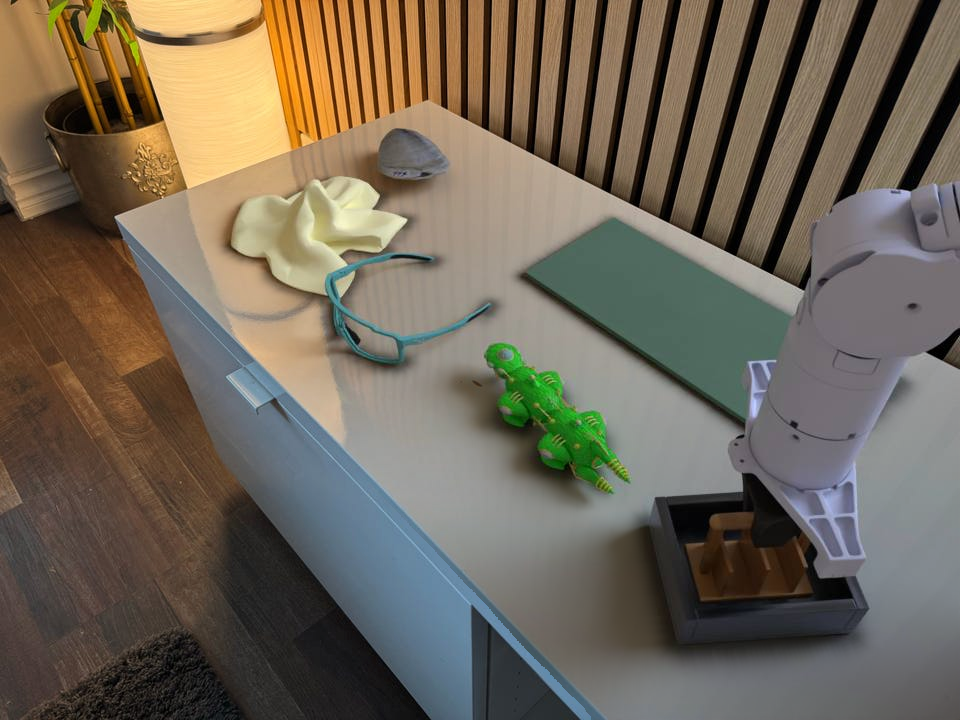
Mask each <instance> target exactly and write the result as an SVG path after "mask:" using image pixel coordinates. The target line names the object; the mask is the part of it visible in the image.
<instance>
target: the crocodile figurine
mask: <svg viewBox="0 0 960 720" xmlns="http://www.w3.org/2000/svg"><path fill="white" fill-rule="evenodd" d="M483 359H485V361H486V366H487V367H488V368H489V369H493V371H494V374H493V375H494V376H496V377H498V378H500V379H502V380H505V382H504V385H505V390H506V391H505V392H503V394H502V395H501V396H500V397H499V398H498V401H497V405H496V406H497V408H498V409H499V410H500V412H501V413H502V419H503V420H504V421H505V422H507V424H509V425H512V426H514V427H515V426H516V427H519V428H524V426H525V424H526V422H527V421H528V420H529V419H531V420H533V422H532V425H533V426H534V427H536V426H537V425H539V426H540V427H541V428H542V430H543V431H545V434H544V435H543V436H542V437H541V439H540V440H538V444H537V450H538V452H539V453H540V459H541V461H542V462H543V463H544V464H545V465H546V466H547V467H549V468H553V469H556V470H562V471H564V470H565V466H566V465H567V464H569V466H570V468H571V471H572V473H573V476H574V477H575V478H576V479H578V480H581V481H583V482H586V483H587V484H592V485H594V487H595V489H597V490H598V489H599V490H600V491H603V492H604V493H606V494H612V495H614V494H615V491H614V490H613V487H612V486H611V484H609V483H608V481H607V480H605V478H604V476H601V477H600V475H598V474H597V472H596V471H595V470H596V469H599V468H601V467H602V466H603V465H604V464H605V465H606V466H605V467H606V468H607V469H609V471H611V472H613V475H615V476H617V478H619V479H620V480H621V481H623V482H625V483H626V482H627V483H628V484H631V483H632V482H631V480H630V478H631V477H630V475H629V472H628V470H627V469H626V466H625V465H623V464H621V462H620V461H619V459H618V457H617V455H616V454H615V452H614V451H613V450H611V449H610V448H609V447H608V446H609V445H608V444H607V441H606V437H607V428H606V427H607V424H608V422H607V419H606V417H605V416H604V415H602V413H600V412H599V411H597V410H589V411H583V412H581V413H579V412H578V411H577V409H578V406H577V405H574V406H570V405H569V404H568V403H567V402H566V401H565V400H564V399H563V394H564V385H565V379H564V378H563V377H562V375H560V374H559V372H557V371H555V370H547V371H542V372H540V373H538V372H537V371H536V365H532V366H531V367H530V366H529V364H528V363H526V359H525V358H524V357H523V356H522V353H521V350H520V349H519V348H518V347H515V346H514V345H511V344H510V343H508V342H496V343H491V344H489V345H488V347H487V348H486V351H485V352H484V353H483ZM524 365H525V366H524ZM571 462H572V463H571Z"/></svg>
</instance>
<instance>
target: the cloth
mask: <svg viewBox="0 0 960 720" xmlns="http://www.w3.org/2000/svg"><path fill="white" fill-rule="evenodd" d="M380 196H381V194H380V193H379V192H377V190H375V189H374V188H373V186H371V185H370V184H369V183H368V182H366V181H364V180H362V179H359V178H355V177H350V176H342V175H341V176H340V175H339V176H334V177H331V178H329V179H325V180H323V181H320V180H319V179H318V178H317V179H314V178H312V179H311V180H309V181H308V182H306V183H305V184H304V188H303V190H301V191H299V192H298V193H296V194H294V195H292V196H290V197H289V198H287V199H286V198H283V197H281V196H280V195H276V194H266V195H257V196H253V197H249V198H247V199H246V200H244V202H242V204H241V205H240V208H239V210H238V212H237V215H236V217H235V220H234V223H233V227H232V230H231V237H230V246H231V248H233V250H236V251H237V252H238V253H239V254H241V255H243V256H246V257H250V258H262V259H263V258H265V259H266V261H267V263H268V265H269V268H270V271H271V274H272V275H273V276H274V277H275V279H277V280H278V281H280V282H281V283H283V284H285V285H287V286H289V287H292V288H294V289H296V290H300V291H303V292H307V293H312V294H317V295H321V296H325V297H328V295H327V293H326V290H325V280H326V277H327V275H328V274H329V273H332V272H334V271H336V270H339V269H341V268H343V267H345V266H348V265H349V264H347V262H346V261H345V260H344V259H343V258H342V257H341V256H340V255H342V254H343V253H345V252H346V251H356V252H357V251H358V252H363V253H364V252H365V253H370V254H379V253H382V251H383V250H384V249H385V248H386V247H387V246H388V245H389V243H390V242H391V241H392V239H393V238H394V236H395V235H396V234H397V233H398V232H399V231H400V230H402V228H403V227H404V226H405V225H406V223H407V222H408V218H407V217H403V216H401V215H398V214H395V213H392V212H388V211H382V210H378V209H373V208H375V206H376V205H377V203H378V201H379V199H380ZM355 275H356V270H354V271H353V272H351V273H350V274H349V275H347V276H345V277H343V278H340V279H339V280H337V281H335V283H336V287H337V290H338V293H339V296H340V299H341V298H342V297H343V296H344V295H345V294H346V292H347V290H348V289H349V287H350V286H351V284H352V282H353V281H354V278H355ZM331 291H332V290H331Z"/></svg>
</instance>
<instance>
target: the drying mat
mask: <svg viewBox="0 0 960 720" xmlns="http://www.w3.org/2000/svg"><path fill="white" fill-rule="evenodd" d="M524 277H526V278H527V279H528V280H530V281H531V282H533V283H535V284H536V285H537V286H539V287H540V288H542V289H544V290H545V291H547V292H548V293H549V294H551V295H552V296H554V297H556V299H558V300H560V301H561V302H563V303H564V304H566V305H567V306H569V307H570V308H572V309H573V310H575V311H576V312H578V313H579V314H580V315H582V316H584V318H586V319H588V320H589V321H591V322H592V323H594V324H596V325H597V326H598V327H600V328H601V329H603V330H605V331H606V332H607V333H609V334H610V335H612V336H613V337H615V338H616V339H617V340H619V341H621V342H622V343H624V344H625V345H626V346H628V347H630V348H631V349H632V350H634V351H636V352H637V353H639V354H640V355H641V356H642V357H644V358H645V359H647V360H649V361H651V362H652V364H653V363H654V365H657V366H658V367H659V368H660V369H662V370H664V371H665V372H667V373H668V374H670V375H671V376H673V377H675V379H677V380H679V381H680V382H682V383H683V384H684V385H686V386H687V387H689V388H690V389H692V390H694V391H695V392H696V393H698V394H699V395H701V396H702V397H704V398H705V399H706V400H708V401H709V402H712V403H713V404H714V405H716V406H717V407H719V408H720V409H722V410H724V411H725V412H726V413H728V414H729V415H730V416H732V417H734V419H737V421H739V422H741V423H742V424H744V425H746V414H747V402H748V392H747V391H745V390H744V388H743V385H742V383H741V379H742V376H743V372H744V369H745V366H746V363H747V362H748V361H764V360H777V358H778V355H779V352H780V349H781V346H782V343H783V341H784V338H785V335H786V332H787V329H788V326H789V324H790V322H791V320H792V318H793V317H794V316H791V315H790V314H788V313H786V312H784V311H782V310H780V309H778V308H777V307H775V306H773V305H772V304H770V303H768V302H766V301H765V300H763V299H761V298H759V297H757V296H756V295H754V294H752V293H750V292H748V291H746V290H745V289H743V288H741V287H739V286H738V285H736V284H734V283H732V282H730V281H729V280H727V279H725V278H724V277H721V276H720V275H719V274H716V273H714V272H713V271H711V270H710V269H707V268H706V267H703V266H702V265H700V264H698V263H696V261H693V260H692V259H689V258H687V257H686V256H685V255H682V254H680V253H679V252H677V251H675V250H673V249H671V248H670V247H668V246H666V245H664V244H663V243H661V242H659V241H658V240H656V239H654V238H652V237H650V236H648V235H647V234H645V233H643V232H641V231H639V230H638V229H636V228H635V227H633V226H630V225H629V224H627V223H626V222H623V221H621V220H620V219H618V218H616V217H614V216H613V217H612V218H610V219H609V220H607V221H606V222H604V223H602V224H601V225H599V226H598V227H596V228H594V229H592V230H591V231H589V232H587V233H586V234H585V235H583V236H581V237H580V238H578V239H576V240H575V241H573V242H571V243H570V244H568V245H567V246H564V247H563V248H561V249H560V250H558V251H556V252H555V253H553V254H552V255H550V256H548V257H546V258H545V259H543V260H541V261H540V262H538V263H537V264H535V265H532V267H530V268H528V269H527V270H525V271H524ZM901 380H902V378H901V377H900V378H899V380H898V382H897V383H896V385H895V387H897V386H898V385H899V384H900V382H901Z"/></svg>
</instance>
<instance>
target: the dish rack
mask: <svg viewBox="0 0 960 720" xmlns="http://www.w3.org/2000/svg"><path fill="white" fill-rule="evenodd" d="M753 517H754V511H753V512H738V513H723V514H714V515H712V516H711V518H710V520H709V524H710V528H709V531H708V534H707V537H706V540H705V542H704V543H692V544H685V546H684V547H685V551H686V554H687V558H688V562H689V565H690V569H691V573H692V577H693V580H694V584H695V588H696V591H697V595H698V599H699V602H700V603H706V602H721V601H736V600H751V599H766V598H781V597H796V596H811V595H813V590H812V588H811V585H810V582H809V580H808V577H807V575H806V572H805V571H806V570H807V568H808V566H807V563H806V561H805V558H804V554H805V552H806V550H807V548H808V546H809V544H810V543H811V541H810V539H809V538H808V537H807V536H806V534H805V533H804V532H803V531H802V532H801V534H800V536H799V538H798V540H797V538H796V536H795V537H793V538H792V539H791V540H790V541H789V542H787V543H786V544H785V545H784V546H783V547H769V548H755V547H754V546H753V543H752V540H751V535H750V531H751V526H752V522H753ZM740 529H742V532H741V534H740V537H739V539H738V540H737V541H724V539H723V533H724V531H725V530H740Z"/></svg>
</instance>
